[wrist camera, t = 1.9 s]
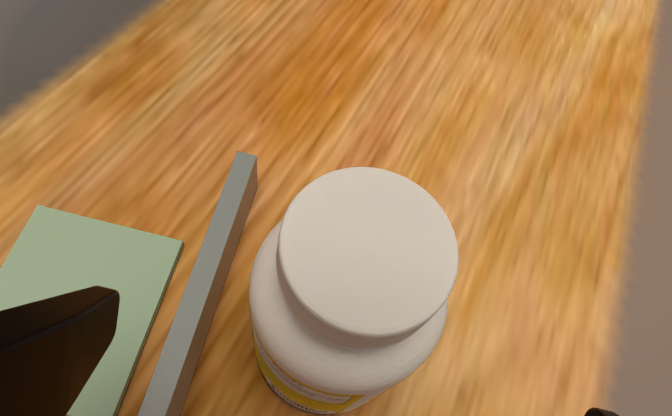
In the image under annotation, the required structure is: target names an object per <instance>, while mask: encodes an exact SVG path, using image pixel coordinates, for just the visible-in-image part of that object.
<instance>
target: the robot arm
mask: <svg viewBox="0 0 672 416" xmlns="http://www.w3.org/2000/svg"><path fill="white" fill-rule="evenodd" d="M119 303H120V295H119V292H118V291H117V290H114V289H110V288H106V287H102V286H92V287H89V288H85V289H81V290H77V291H73V292H70V293H66V294H62V295H58V296H54V297H51V298H47V299H43V300H39V301H36V302H32V303H28V304H24V305H20V306H17V307H13V308H9V309H5V310H1V311H0V416H66V414H67V413H68V411H69V410H70V408H71V407H72V405H73V404H74V402H75V401H76V399H77V397H78V396H79V394H80V393H81V391H82V389H83V388H84V386H85V384H86V383H87V381H88V380H89V378H90V376H91V375H92V373H93V372H94V370H95V368H96V367H97V365H98V363H99V362H100V360H101V359H102V357H103V355H104V354H105V352H106V351H107V349H108V347H109V346H110V344H111V342H112V340H113V338H114V336H115V332H116V327H117V319H118V311H119ZM585 416H619V415H617V414H616V413H614V412H611V411H608V410H603V409H599V408H590V409H589V410H588V411H587V412H586V414H585Z"/></svg>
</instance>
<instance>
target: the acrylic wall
mask: <svg viewBox="0 0 672 416" xmlns="http://www.w3.org/2000/svg"><path fill="white" fill-rule="evenodd" d="M256 189H257V156H255V155H251V154H247V153H243V152H239V151H237V153H236V156H235V159H234V161H233V164H232V167H231V169H230V172H229V175H228V177H227V180H226V183H225V185H224V188H223V191H222V193H221V196H220V199H219V201H218V204H217V206H216V209H215V212H214V214H213V217H212V220H211V222H210V225H209V228H208V230H207V233H206V236H205V238H204V241H203V244H202V246H201V249H200V251H199V254H198V257H197V259H196V262H195V265H194V267H193V270H192V273H191V275H190V278H189V281H188V283H187V286H186V289H185V291H184V294H183V296H182V299H181V302H180V304H179V307H178V310H177V312H176V315H175V318H174V320H173V323H172V326H171V328H170V331H169V334H168V336H167V339H166V341H165V344H164V347H163V349H162V352H161V355H160V357H159V360H158V363H157V365H156V368H155V371H154V373H153V376H152V379H151V381H150V384H149V386H148V389H147V392H146V394H145V397H144V400H143V402H142V405H141V408H140V410H139V413H138V416H180V413H181V411H182V408H183V405H184V402H185V399H186V396H187V393H188V390H189V387H190V384H191V381H192V378H193V375H194V372H195V369H196V366H197V363H198V360H199V357H200V354H201V351H202V348H203V346H204V343H205V340H206V337H207V334H208V331H209V328H210V325H211V322H212V319H213V316H214V313H215V310H216V307H217V304H218V301H219V298H220V295H221V292H222V289H223V286H224V283H225V281H226V278H227V275H228V272H229V269H230V266H231V263H232V260H233V257H234V254H235V251H236V248H237V245H238V242H239V239H240V236H241V233H242V230H243V227H244V224H245V221H246V218H247V216H248V213H249V210H250V207H251V204H252V201H253V198H254V195H255V192H256Z"/></svg>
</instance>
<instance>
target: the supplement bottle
mask: <svg viewBox="0 0 672 416" xmlns="http://www.w3.org/2000/svg"><path fill="white" fill-rule="evenodd" d="M458 263H459V255H458V246H457V241H456V237H455V233H454V230H453V227H452V225H451V223H450V221H449V219H448V217H447V216H446V214H445V212H444V210H443V209H442V208H441V206H440V205H439V204H438V202H437V201H436V200H435V199H434V198H433V197H432V196H431V195H430V194H429V193H428V192H427V191H425V190H424V189H423V188H422V187H420V186H419V185H418V184H416V183H415V182H413V181H411V180H409V179H407V178H405V177H403V176H401V175H399V174H396V173H394V172H391V171H387V170H384V169H379V168H371V167H351V168H344V169H340V170H336V171H332V172H329V173H327V174H325V175H322V176H320V177H318V178H317V179H315V180H313V181H312V182H311V183H309V184H308V185H307V186H305V187H304V188H303V189H302V190H301V191H300V192H299V193H298V195H297V196H296V197H295V198H294V199H293V201H292V202H291V203H290V205H289V207H288V208H287V210H286V212H285V214H284V217H283V219H282V220H281V221H280V222H279V223H278V224H277V225H276V226H275V227H274V228H273V229H272V230H271V232H270V233H269V234H268V235H267V237H266V238H265V240H264V241H263V243H262V245H261V247H260V249H259V251H258V253H257V255H256V258H255V260H254V263H253V266H252V271H251V276H250V285H249V308H250V315H251V324H252V332H253V340H254V349H255V355H256V359H257V363H258V366H259V368H260V371H261V373H262V375H263V377H264V379H265V381H266V382H267V384H268V386H269V387H270V388H271V390H272V391H273V392H274V393H275V394H276V395H277V396H278V397H279V398H280V399H281V400H283V401H284V402H285V403H287V404H288V405H290V406H292V407H293V408H296V409H298V410H300V411H302V412H306V413H309V414H314V415H336V414H341V413H345V412H348V411H351V410H353V409H355V408H357V407H359V406H361V405H363V404H365V403H367V402H369V401H370V400H371V399H373V398H375V397H376V396H378V395H380V394H381V393H383V392H385V391H386V390H388V389H389V388H391V387H392V386H394V385H396V384H397V383H399V382H401V381H402V380H404V379H405V378H406V377H408V376H409V375H411V374H412V373H413V372H414V371H415V370H416V369H417V368H418V367H419V366H421V365H422V364H423V363H424V361H425V360H426V359H427V358H428V357H429V355H430V354H431V352H432V351H433V350H434V348H435V346H436V344H437V342H438V340H439V338H440V336H441V334H442V331H443V328H444V325H445V321H446V316H447V308H448V297H449V295H450V293H451V291H452V289H453V286H454V283H455V280H456V276H457V271H458Z"/></svg>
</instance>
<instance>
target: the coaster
mask: <svg viewBox="0 0 672 416" xmlns="http://www.w3.org/2000/svg"><path fill="white" fill-rule="evenodd" d="M183 246H184V243H183V241H181V240H177V239H173V238H169V237H165V236H161V235H157V234H153V233H149V232H145V231H141V230H137V229H133V228H129V227H125V226H121V225H117V224H113V223H109V222H104V221H100V220H96V219H92V218H88V217H84V216H80V215H76V214H72V213H68V212H64V211H60V210H56V209H52V208H48V207H44V206H40V205H37V207H36V209H35V210H34V212H33V214H32V215H31V217H30V219H29V221H28V222H27V224H26V226H25V227H24V229H23V231H22V233H21V234H20V236H19V238H18V239H17V241H16V243H15V244H14V246H13V248H12V250H11V251H10V253H9V255H8V256H7V258H6V260H5V262H4V263H3V265H2V267H1V268H0V311H1V310H5V309H9V308H13V307H17V306H20V305H24V304H28V303H32V302H36V301H39V300H43V299H47V298H51V297H54V296H58V295H62V294H66V293H70V292H73V291H77V290H81V289H85V288H89V287H92V286H102V287H106V288H110V289H114V290H117V291H118V292H119V295H120V303H119V311H118V319H117V327H116V332H115V336H114V338H113V340H112V342H111V344H110V346H109V347H108V349H107V351H106V352H105V354H104V355H103V357H102V359H101V360H100V362H99V363H98V365H97V367H96V368H95V370H94V372H93V373H92V375H91V376H90V378H89V380H88V381H87V383H86V384H85V386H84V388H83V389H82V391H81V393H80V394H79V396H78V397H77V399H76V401H75V402H74V404H73V405H72V407H71V408H70V410H69V411H68V413H67V414H66V415H69V416H116V415H117V412H118V410H119V407H120V405H121V402H122V400H123V397H124V395H125V392H126V389H127V387H128V384H129V382H130V379H131V377H132V374H133V372H134V369H135V367H136V364H137V362H138V359H139V357H140V354H141V352H142V349H143V347H144V344H145V342H146V339H147V337H148V334H149V332H150V329H151V327H152V324H153V322H154V319H155V317H156V314H157V312H158V309H159V306H160V304H161V301H162V299H163V296H164V294H165V291H166V289H167V286H168V284H169V281H170V279H171V276H172V274H173V271H174V269H175V266H176V264H177V261H178V259H179V256H180V254H181V251H182V249H183Z"/></svg>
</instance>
